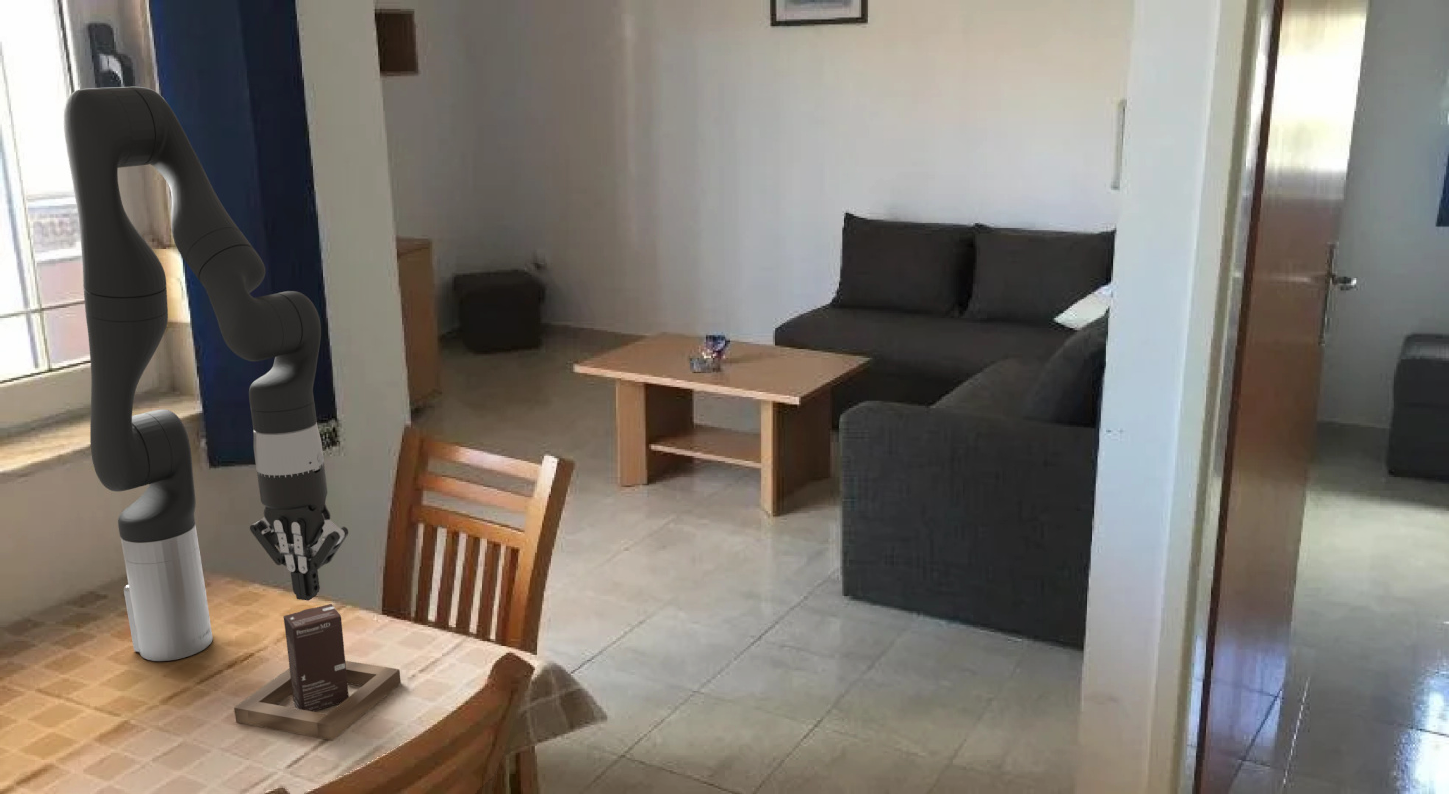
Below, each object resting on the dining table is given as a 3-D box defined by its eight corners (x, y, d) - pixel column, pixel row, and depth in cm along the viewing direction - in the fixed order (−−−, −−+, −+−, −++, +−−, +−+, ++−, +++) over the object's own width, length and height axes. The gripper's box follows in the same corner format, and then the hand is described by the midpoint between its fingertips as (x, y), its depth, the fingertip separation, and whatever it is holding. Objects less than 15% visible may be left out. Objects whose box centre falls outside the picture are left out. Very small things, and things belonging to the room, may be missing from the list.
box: (303, 717, 144) (291, 627, 141) (293, 702, 148) (281, 614, 144) (352, 702, 147) (341, 614, 144) (341, 687, 151) (330, 601, 148)
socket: (235, 722, 143) (233, 707, 143) (309, 668, 156) (308, 654, 156) (332, 740, 139) (331, 725, 138) (400, 683, 152) (399, 669, 151)
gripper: (221, 467, 138) (241, 604, 142) (316, 477, 134) (334, 617, 138) (265, 448, 145) (283, 579, 149) (356, 457, 140) (372, 591, 145)
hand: (307, 597), depth 144 cm, fingers closed
